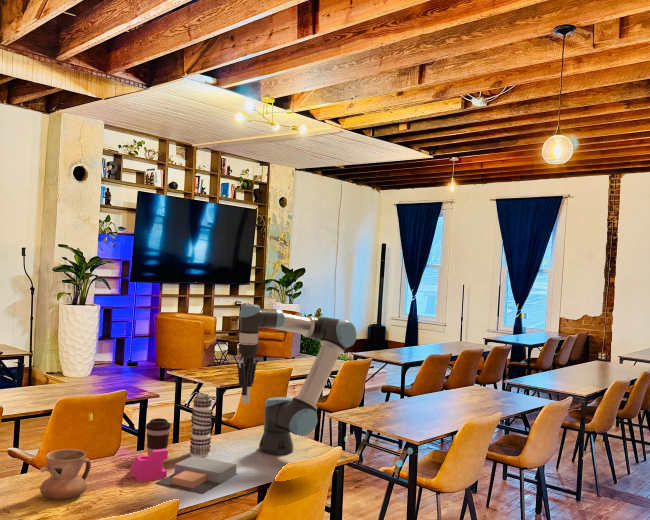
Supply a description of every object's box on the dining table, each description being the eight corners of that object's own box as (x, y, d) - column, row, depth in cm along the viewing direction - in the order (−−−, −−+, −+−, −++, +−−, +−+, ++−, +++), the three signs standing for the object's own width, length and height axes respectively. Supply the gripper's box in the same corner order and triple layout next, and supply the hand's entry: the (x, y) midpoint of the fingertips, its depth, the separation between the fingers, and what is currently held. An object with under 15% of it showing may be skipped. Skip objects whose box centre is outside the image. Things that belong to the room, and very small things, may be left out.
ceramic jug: (48, 509, 193) (52, 464, 194) (27, 495, 203) (31, 453, 203) (100, 495, 207) (103, 454, 208) (78, 484, 217) (81, 444, 217)
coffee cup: (162, 461, 245) (164, 424, 245) (139, 458, 247) (141, 421, 247) (173, 454, 254) (175, 418, 255) (151, 451, 256) (153, 416, 257)
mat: (182, 470, 235) (182, 469, 235) (226, 480, 227) (226, 479, 227) (156, 483, 220) (156, 482, 220) (202, 493, 213) (202, 492, 213)
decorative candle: (184, 453, 257) (187, 394, 257) (203, 449, 263) (206, 391, 264) (195, 458, 250) (199, 398, 251) (215, 455, 256) (218, 395, 257)
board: (192, 465, 242) (193, 455, 242) (236, 474, 234) (236, 464, 234) (174, 474, 230) (174, 464, 230) (219, 484, 223) (220, 473, 223)
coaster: (186, 476, 228) (186, 469, 228) (206, 480, 225) (207, 474, 225) (171, 483, 220) (172, 477, 220) (192, 488, 216) (192, 481, 216)
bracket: (166, 478, 227) (167, 450, 227) (138, 482, 221) (140, 453, 221) (156, 468, 237) (157, 441, 237) (129, 471, 231) (131, 444, 231)
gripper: (248, 341, 248) (245, 398, 248) (231, 344, 236) (228, 404, 236) (264, 342, 245) (261, 401, 245) (248, 346, 233) (245, 407, 233)
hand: (245, 402), depth 240 cm, fingers closed
